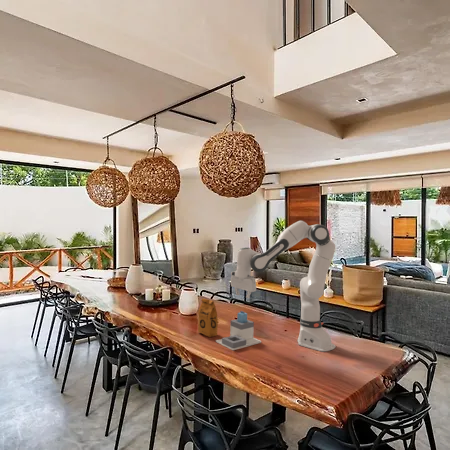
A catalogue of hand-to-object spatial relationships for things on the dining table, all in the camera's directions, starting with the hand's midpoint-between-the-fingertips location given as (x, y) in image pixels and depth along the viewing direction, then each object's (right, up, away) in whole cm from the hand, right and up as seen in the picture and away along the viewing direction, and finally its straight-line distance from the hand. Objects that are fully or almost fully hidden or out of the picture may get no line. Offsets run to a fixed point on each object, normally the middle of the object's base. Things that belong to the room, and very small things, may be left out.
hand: (242, 296), depth 209 cm
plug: (0, -18, 0) cm, 18 cm away
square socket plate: (-3, -26, -5) cm, 27 cm away
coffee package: (-22, -26, +8) cm, 35 cm away
